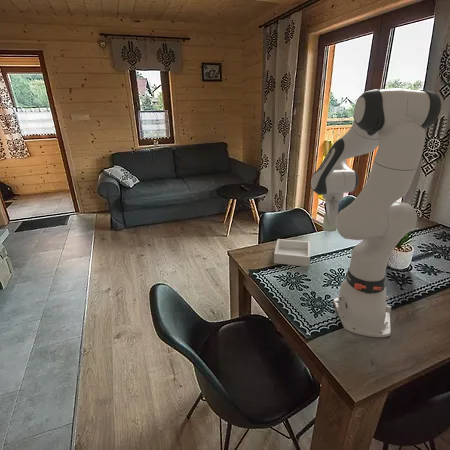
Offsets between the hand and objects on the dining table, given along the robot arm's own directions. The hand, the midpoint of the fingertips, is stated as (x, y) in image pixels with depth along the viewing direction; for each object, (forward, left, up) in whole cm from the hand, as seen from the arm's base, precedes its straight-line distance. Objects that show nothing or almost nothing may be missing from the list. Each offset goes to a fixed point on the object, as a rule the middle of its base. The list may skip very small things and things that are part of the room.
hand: (330, 222), depth 134 cm
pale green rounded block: (0, 0, -3) cm, 3 cm away
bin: (-6, +16, -17) cm, 24 cm away
